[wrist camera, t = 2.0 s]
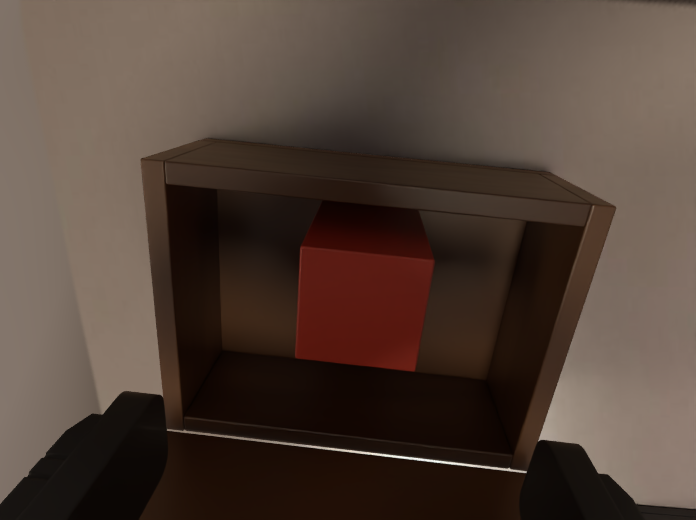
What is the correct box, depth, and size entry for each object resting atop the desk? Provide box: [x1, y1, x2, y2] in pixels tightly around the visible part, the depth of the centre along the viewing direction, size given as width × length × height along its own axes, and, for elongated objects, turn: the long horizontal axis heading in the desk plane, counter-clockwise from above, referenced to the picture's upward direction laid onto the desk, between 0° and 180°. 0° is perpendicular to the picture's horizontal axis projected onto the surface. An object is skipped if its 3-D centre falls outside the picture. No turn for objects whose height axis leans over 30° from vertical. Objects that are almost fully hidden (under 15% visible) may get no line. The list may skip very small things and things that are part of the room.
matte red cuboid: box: [295, 201, 435, 371], centre depth 18 cm, size 4×4×6 cm
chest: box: [141, 138, 616, 471], centre depth 19 cm, size 12×16×6 cm
